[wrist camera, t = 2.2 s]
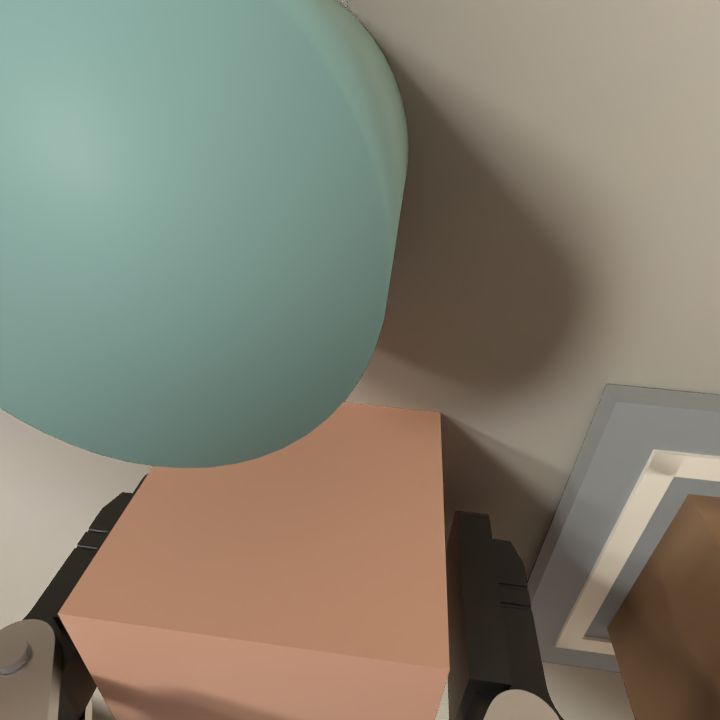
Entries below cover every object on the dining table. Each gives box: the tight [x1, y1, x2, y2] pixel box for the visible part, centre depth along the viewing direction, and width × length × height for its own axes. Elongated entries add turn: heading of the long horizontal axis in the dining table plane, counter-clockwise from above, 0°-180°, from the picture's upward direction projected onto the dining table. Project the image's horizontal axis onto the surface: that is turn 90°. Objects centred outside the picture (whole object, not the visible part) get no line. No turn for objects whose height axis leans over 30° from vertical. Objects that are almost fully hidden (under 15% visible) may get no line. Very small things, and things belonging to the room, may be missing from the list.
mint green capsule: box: [0, 0, 409, 468], centre depth 6 cm, size 5×5×5 cm
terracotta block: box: [58, 402, 450, 720], centre depth 10 cm, size 6×6×6 cm
